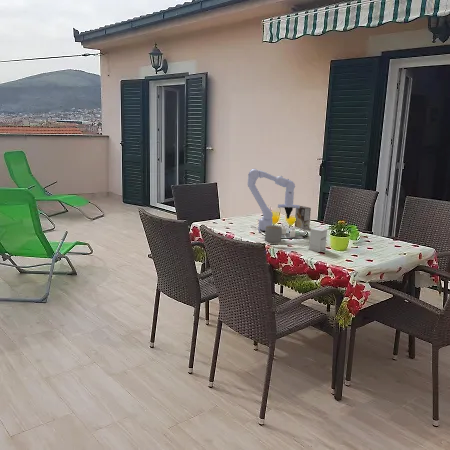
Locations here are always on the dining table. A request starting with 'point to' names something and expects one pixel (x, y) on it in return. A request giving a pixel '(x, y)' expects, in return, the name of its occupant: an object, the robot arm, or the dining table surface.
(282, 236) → the console
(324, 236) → the supplement box
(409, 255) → the dining table surface
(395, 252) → the dining table surface
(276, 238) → the coffee mug
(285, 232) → the slider middle
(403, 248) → the dining table surface
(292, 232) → the slider front
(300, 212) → the coffee box
